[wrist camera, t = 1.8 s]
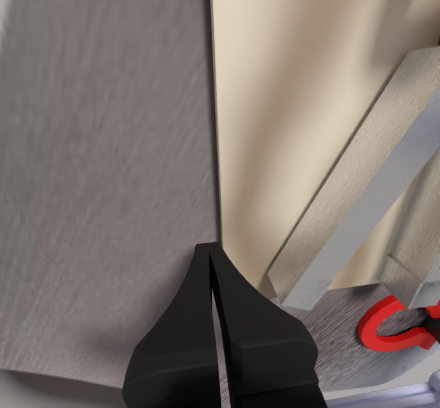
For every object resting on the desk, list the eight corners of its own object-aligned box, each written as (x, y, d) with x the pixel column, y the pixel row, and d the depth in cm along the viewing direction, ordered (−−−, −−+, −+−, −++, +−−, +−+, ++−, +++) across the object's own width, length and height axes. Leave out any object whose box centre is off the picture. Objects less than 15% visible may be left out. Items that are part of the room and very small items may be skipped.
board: (677, -145, 9) (727, -169, 9) (448, 263, 20) (460, 272, 19) (202, -175, 8) (203, -210, 7) (223, 293, 18) (225, 303, 17)
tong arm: (438, 72, 11) (506, 68, 9) (293, 279, 16) (310, 310, 14) (409, 51, 10) (472, 40, 8) (267, 273, 16) (281, 304, 13)
